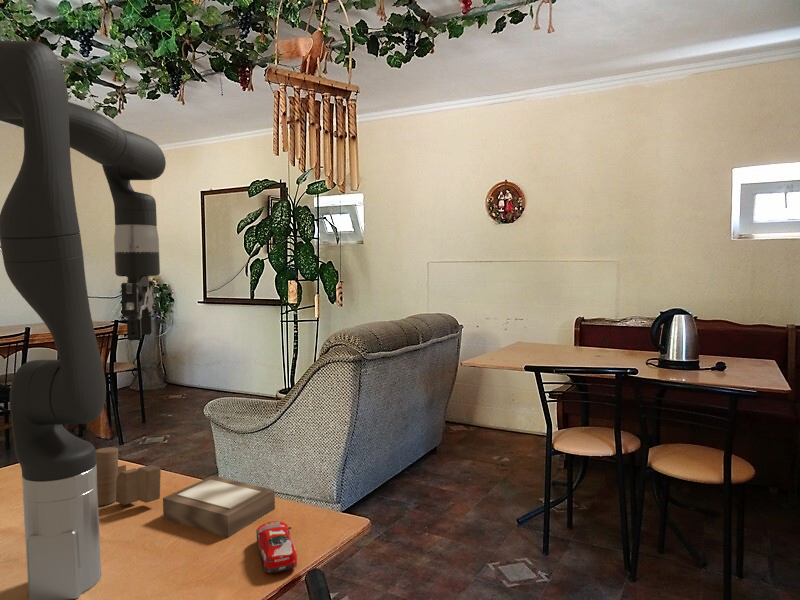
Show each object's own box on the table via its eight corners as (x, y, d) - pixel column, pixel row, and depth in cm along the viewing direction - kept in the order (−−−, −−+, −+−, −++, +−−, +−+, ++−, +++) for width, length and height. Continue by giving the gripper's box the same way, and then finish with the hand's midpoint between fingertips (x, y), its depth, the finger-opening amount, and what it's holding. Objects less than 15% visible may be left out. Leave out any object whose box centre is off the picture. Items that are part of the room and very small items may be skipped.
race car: (254, 536, 94) (254, 513, 94) (287, 530, 96) (286, 508, 95) (262, 580, 82) (261, 554, 81) (299, 572, 83) (299, 547, 83)
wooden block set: (168, 504, 108) (170, 451, 108) (126, 518, 101) (127, 461, 101) (117, 486, 118) (119, 438, 118) (75, 497, 111) (77, 446, 111)
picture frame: (275, 510, 105) (274, 488, 105) (228, 538, 95) (227, 514, 94) (213, 494, 113) (212, 474, 112) (163, 519, 102) (162, 496, 102)
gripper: (150, 249, 97) (153, 341, 98) (166, 251, 111) (169, 332, 112) (103, 249, 95) (107, 343, 96) (125, 251, 109) (128, 333, 110)
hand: (140, 337), depth 104 cm, fingers open, 8 cm apart
